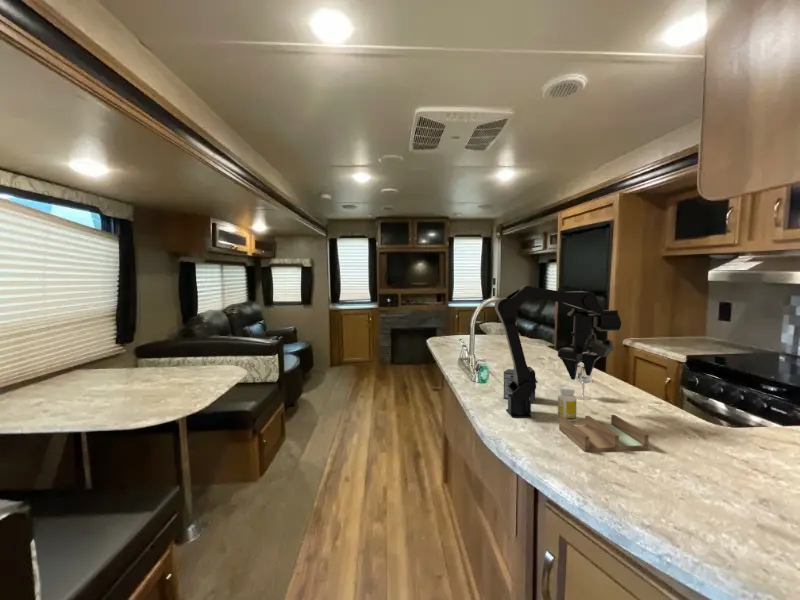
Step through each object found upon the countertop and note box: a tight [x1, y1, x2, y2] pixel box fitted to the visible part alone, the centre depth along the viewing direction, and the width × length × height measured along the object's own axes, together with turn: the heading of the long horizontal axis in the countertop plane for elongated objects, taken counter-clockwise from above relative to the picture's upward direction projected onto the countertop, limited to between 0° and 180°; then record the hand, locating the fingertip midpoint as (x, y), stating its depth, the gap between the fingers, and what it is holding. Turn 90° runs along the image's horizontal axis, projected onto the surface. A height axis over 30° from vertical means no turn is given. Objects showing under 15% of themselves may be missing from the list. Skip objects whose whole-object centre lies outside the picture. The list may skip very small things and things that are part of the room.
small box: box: [502, 368, 536, 404], centre depth 135 cm, size 11×6×10 cm, turn 58°
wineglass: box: [575, 364, 593, 401], centre depth 135 cm, size 6×6×12 cm
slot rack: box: [558, 414, 650, 453], centre depth 101 cm, size 17×14×4 cm
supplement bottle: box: [557, 386, 577, 423], centre depth 116 cm, size 5×5×10 cm
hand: (580, 377), depth 118 cm, fingers open, 9 cm apart
